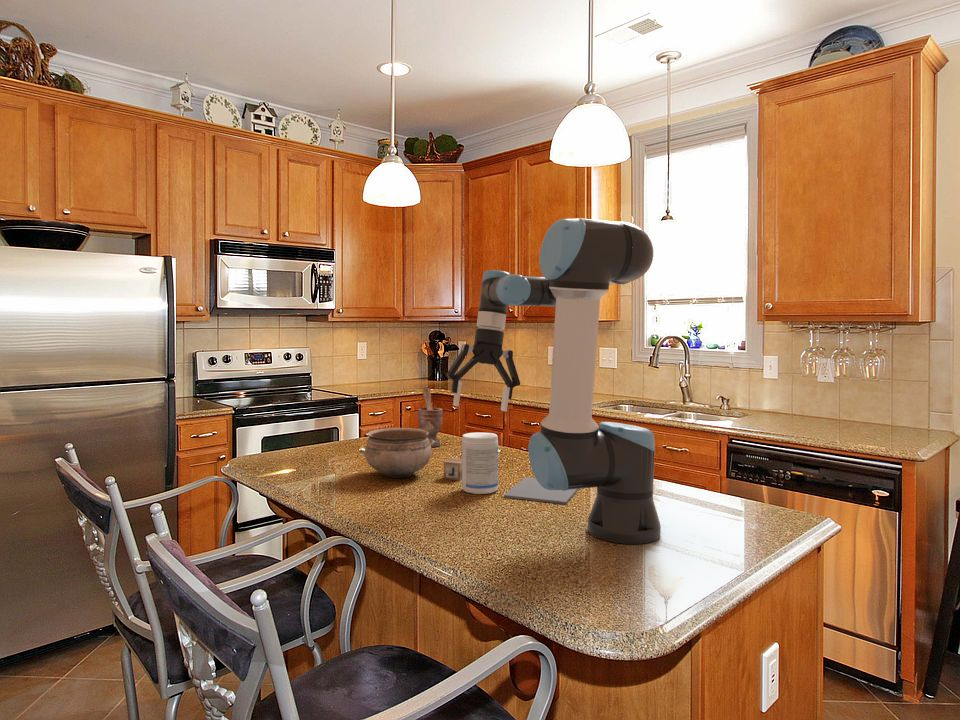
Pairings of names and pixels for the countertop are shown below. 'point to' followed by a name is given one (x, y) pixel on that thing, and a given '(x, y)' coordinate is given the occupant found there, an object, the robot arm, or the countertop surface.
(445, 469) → the lettered block
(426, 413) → the mortar and pestle
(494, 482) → the supplement tub
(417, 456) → the cooking pot
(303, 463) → the countertop surface
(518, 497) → the grey mat
